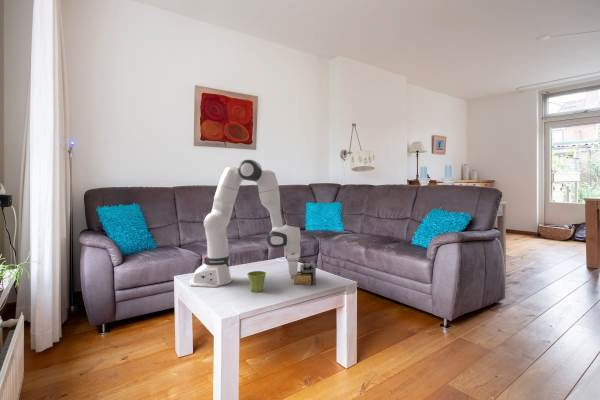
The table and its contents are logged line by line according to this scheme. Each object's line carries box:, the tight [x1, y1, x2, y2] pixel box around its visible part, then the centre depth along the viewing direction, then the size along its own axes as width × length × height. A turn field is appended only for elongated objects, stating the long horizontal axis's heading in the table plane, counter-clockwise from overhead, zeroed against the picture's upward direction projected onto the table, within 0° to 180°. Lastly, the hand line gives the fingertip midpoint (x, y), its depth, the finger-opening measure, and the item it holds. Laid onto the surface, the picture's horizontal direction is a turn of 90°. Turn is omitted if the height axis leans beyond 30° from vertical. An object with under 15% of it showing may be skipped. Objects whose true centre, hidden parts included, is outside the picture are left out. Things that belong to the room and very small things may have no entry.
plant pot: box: [246, 270, 267, 293], centre depth 163 cm, size 9×9×9 cm
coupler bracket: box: [299, 260, 317, 286], centre depth 176 cm, size 7×12×10 cm, turn 4°
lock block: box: [293, 270, 312, 286], centre depth 176 cm, size 9×8×5 cm
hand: (292, 278), depth 175 cm, fingers closed
